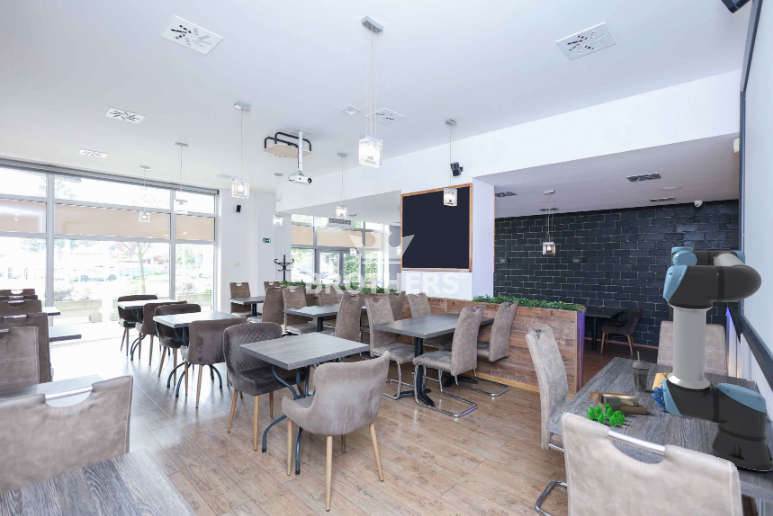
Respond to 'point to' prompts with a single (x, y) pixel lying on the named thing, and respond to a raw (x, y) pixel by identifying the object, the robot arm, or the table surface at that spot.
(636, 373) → the beverage cup
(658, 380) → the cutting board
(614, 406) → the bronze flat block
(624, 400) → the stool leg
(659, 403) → the grapes
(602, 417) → the green knobby part
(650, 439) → the table surface
